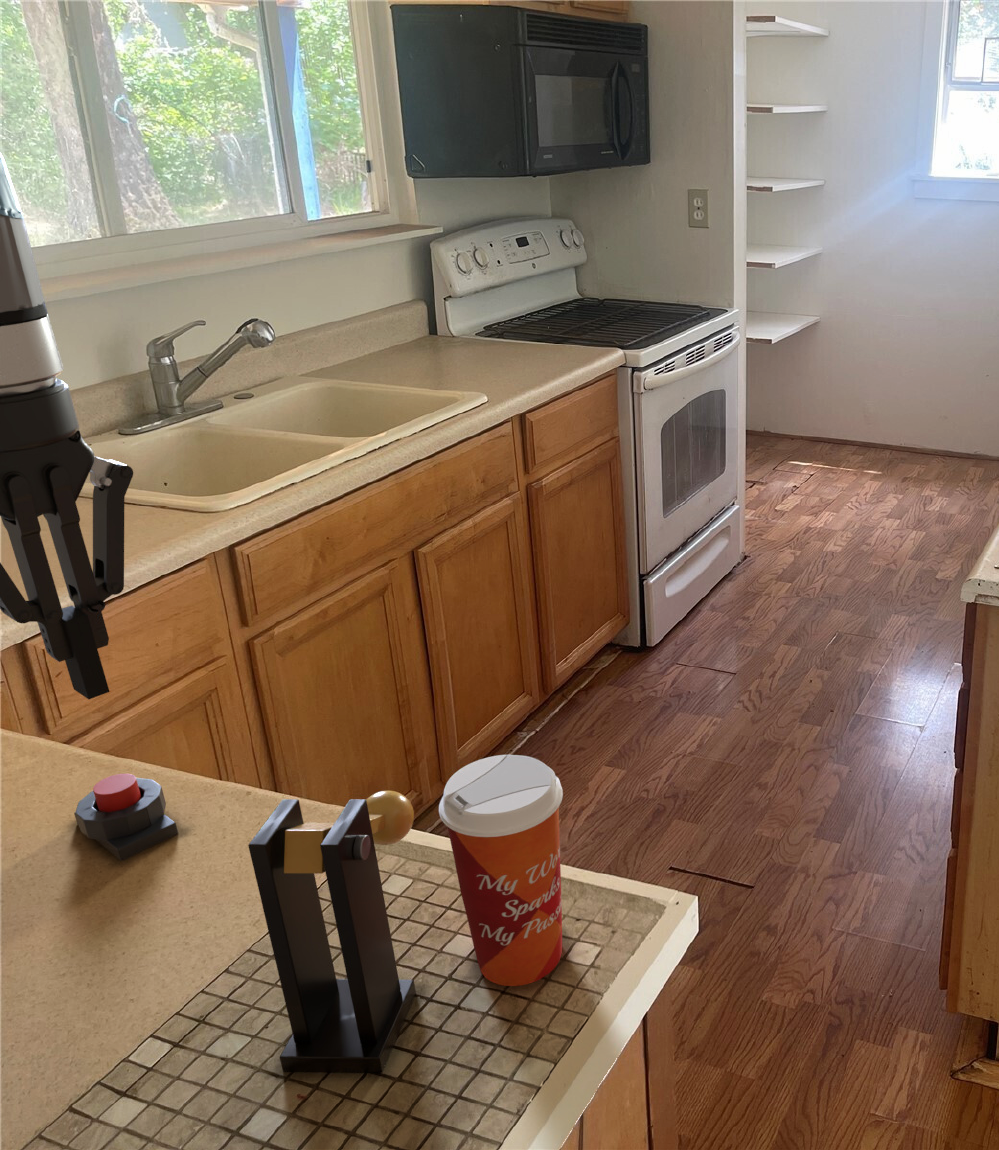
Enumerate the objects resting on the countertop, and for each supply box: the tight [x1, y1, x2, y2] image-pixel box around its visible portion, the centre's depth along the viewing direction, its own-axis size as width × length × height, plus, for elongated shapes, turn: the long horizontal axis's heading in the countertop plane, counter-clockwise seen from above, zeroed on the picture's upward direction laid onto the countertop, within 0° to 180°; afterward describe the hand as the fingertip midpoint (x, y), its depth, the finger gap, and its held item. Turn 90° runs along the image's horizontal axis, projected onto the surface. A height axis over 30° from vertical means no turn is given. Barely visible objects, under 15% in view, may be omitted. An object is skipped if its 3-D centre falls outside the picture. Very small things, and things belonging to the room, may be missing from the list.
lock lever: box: [284, 790, 415, 875], centre depth 67 cm, size 14×4×4 cm, turn 178°
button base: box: [73, 777, 179, 862], centre depth 86 cm, size 8×6×3 cm
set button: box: [92, 773, 141, 812], centre depth 86 cm, size 3×3×2 cm
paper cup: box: [438, 754, 564, 987], centre depth 70 cm, size 8×8×14 cm
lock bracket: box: [247, 798, 417, 1074], centre depth 64 cm, size 6×6×16 cm
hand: (91, 690), depth 82 cm, fingers closed
